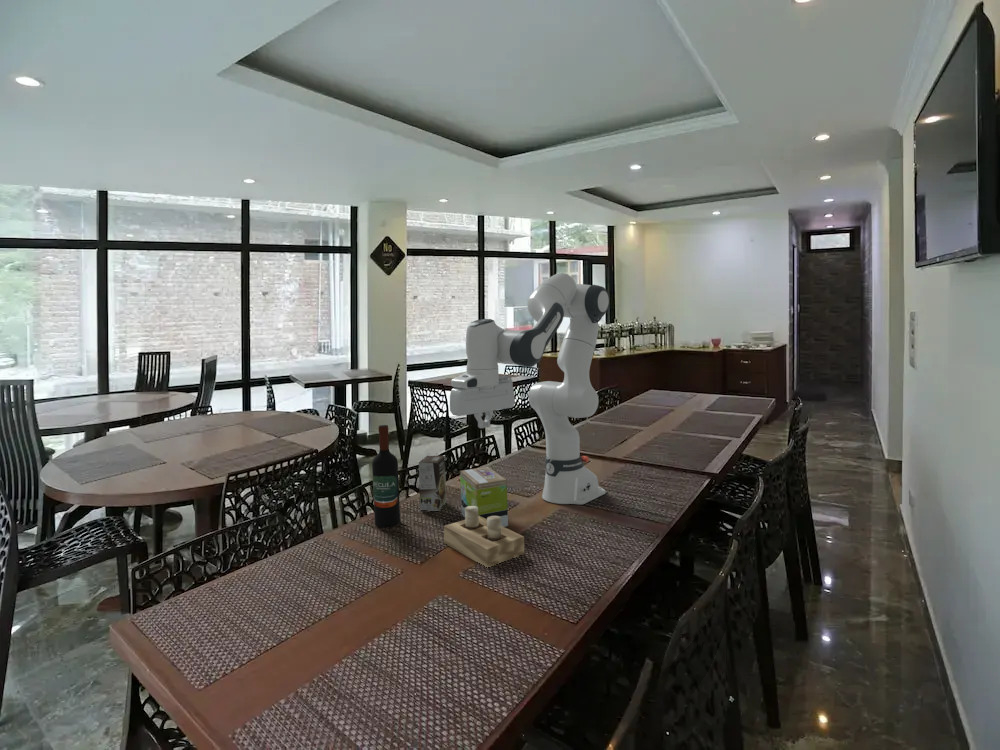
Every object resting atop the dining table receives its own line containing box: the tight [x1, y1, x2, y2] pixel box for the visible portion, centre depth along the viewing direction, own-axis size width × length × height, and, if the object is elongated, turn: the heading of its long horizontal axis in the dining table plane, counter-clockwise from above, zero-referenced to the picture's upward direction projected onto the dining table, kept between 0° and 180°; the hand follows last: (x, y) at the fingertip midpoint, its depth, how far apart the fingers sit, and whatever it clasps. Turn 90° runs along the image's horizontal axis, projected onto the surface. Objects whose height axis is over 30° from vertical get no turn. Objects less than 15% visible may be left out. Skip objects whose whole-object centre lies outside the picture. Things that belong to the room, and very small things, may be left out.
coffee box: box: [418, 455, 447, 512], centre depth 189 cm, size 9×6×16 cm
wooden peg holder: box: [443, 506, 525, 569], centre depth 156 cm, size 12×20×10 cm, turn 38°
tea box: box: [459, 466, 509, 528], centre depth 176 cm, size 15×10×15 cm
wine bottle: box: [371, 424, 401, 529], centre depth 175 cm, size 8×8×30 cm
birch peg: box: [487, 516, 501, 542], centre depth 152 cm, size 4×4×10 cm
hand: (484, 427), depth 163 cm, fingers closed
